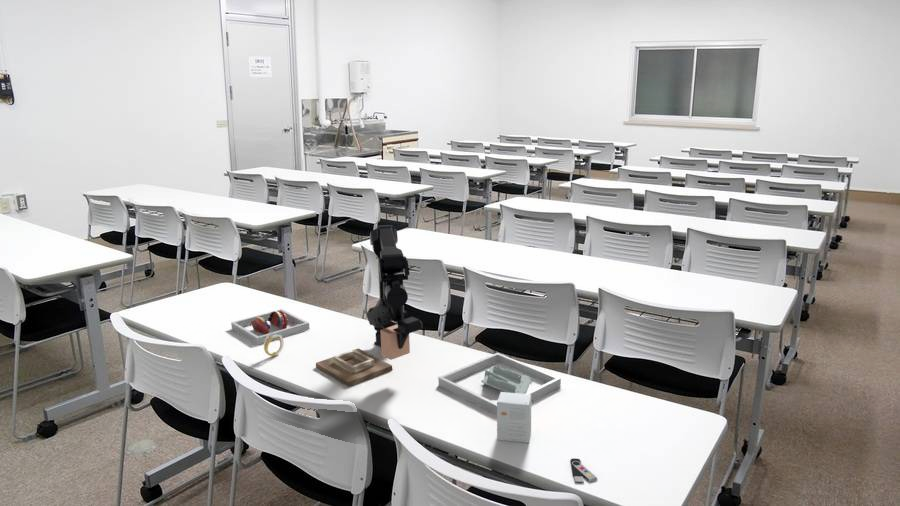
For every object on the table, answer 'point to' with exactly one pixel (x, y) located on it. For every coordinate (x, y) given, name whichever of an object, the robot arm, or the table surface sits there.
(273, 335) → the ring
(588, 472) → the usb flash drive
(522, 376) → the metal bracket
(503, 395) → the small box
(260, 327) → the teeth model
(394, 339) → the key block
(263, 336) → the jewellery tray
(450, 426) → the table surface
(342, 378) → the socket board
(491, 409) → the bracket rim
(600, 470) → the table surface
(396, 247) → the robot arm
